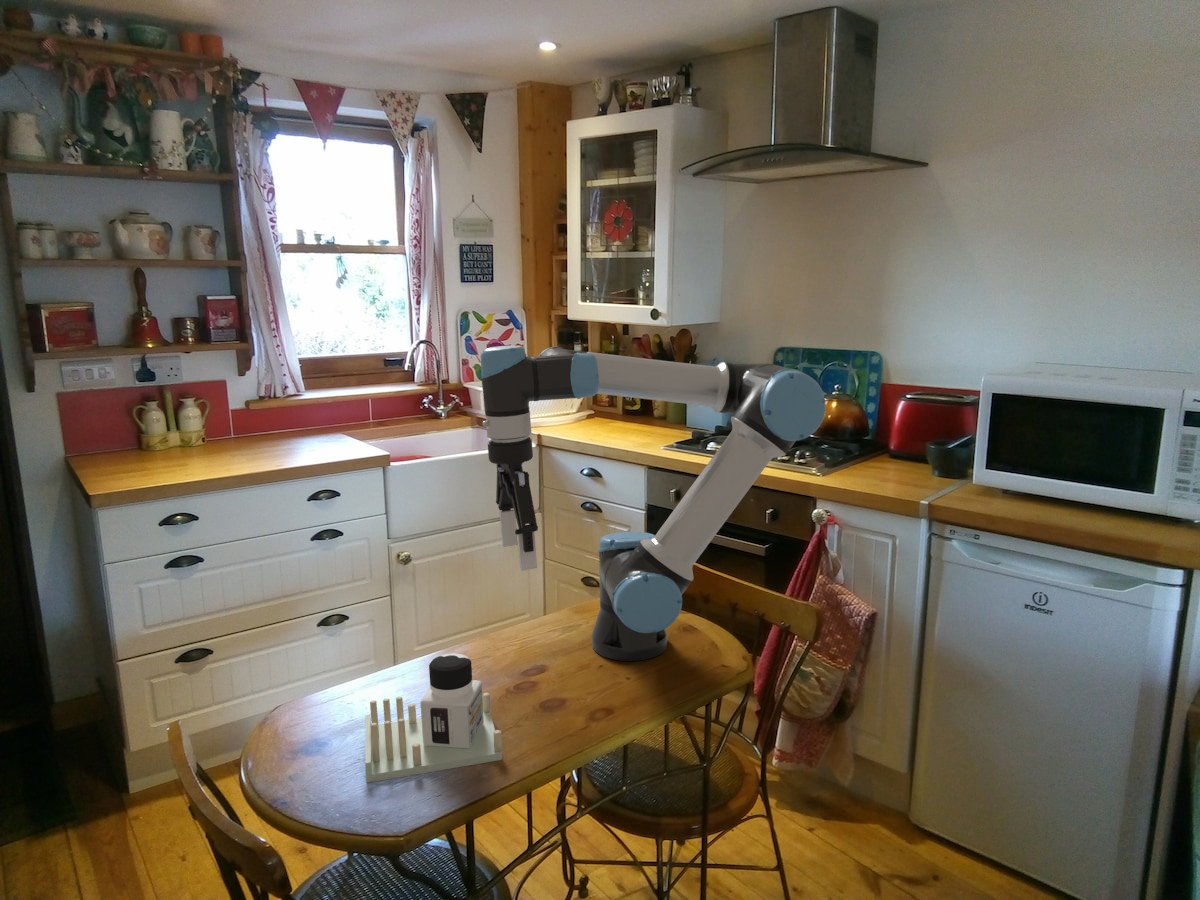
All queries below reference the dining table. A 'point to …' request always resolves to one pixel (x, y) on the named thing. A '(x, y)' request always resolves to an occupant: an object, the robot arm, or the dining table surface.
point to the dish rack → (420, 745)
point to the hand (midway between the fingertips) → (519, 556)
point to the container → (452, 703)
